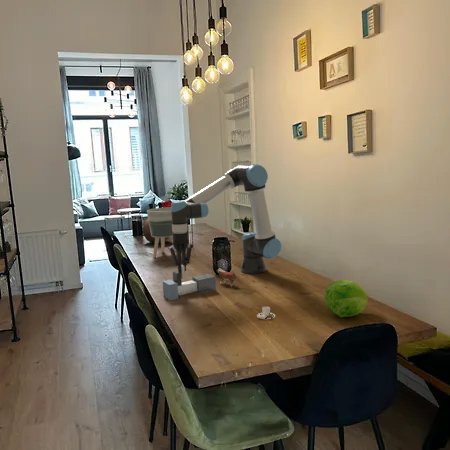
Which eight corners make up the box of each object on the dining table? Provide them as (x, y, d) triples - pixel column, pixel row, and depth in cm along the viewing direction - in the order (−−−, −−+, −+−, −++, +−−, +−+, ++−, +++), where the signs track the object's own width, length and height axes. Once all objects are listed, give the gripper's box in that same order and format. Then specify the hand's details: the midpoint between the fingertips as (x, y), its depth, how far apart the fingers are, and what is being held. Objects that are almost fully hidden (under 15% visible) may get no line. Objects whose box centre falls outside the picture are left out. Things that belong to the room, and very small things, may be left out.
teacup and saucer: (260, 321, 185) (260, 312, 185) (252, 315, 193) (251, 306, 192) (278, 318, 189) (278, 308, 188) (269, 312, 196) (269, 303, 195)
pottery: (144, 241, 372) (142, 211, 368) (172, 239, 375) (170, 210, 371) (142, 246, 350) (140, 215, 346) (171, 244, 352) (169, 213, 348)
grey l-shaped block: (197, 287, 231) (196, 267, 229) (201, 289, 227) (200, 268, 225) (168, 293, 222) (166, 272, 220) (171, 296, 218) (170, 274, 217)
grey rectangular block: (209, 286, 236) (208, 273, 235) (216, 290, 230) (215, 276, 229) (192, 290, 231) (192, 276, 230) (199, 293, 225) (198, 279, 224)
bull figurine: (220, 281, 246) (219, 267, 244) (237, 285, 236) (237, 270, 235) (214, 282, 243) (213, 268, 241) (231, 287, 233) (231, 272, 232)
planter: (185, 255, 314) (183, 209, 308) (158, 260, 302) (154, 212, 296) (171, 250, 331) (168, 206, 326) (145, 255, 319) (141, 209, 314)
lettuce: (376, 321, 185) (383, 287, 182) (338, 326, 177) (344, 290, 174) (350, 305, 200) (356, 274, 197) (314, 309, 192) (319, 276, 188)
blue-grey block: (171, 294, 225) (170, 279, 224) (178, 298, 218) (177, 283, 217) (163, 296, 223) (162, 281, 222) (170, 300, 216) (169, 284, 215)
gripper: (188, 229, 226) (190, 274, 229) (164, 232, 219) (167, 278, 223) (195, 231, 219) (197, 277, 223) (171, 234, 213) (173, 281, 216)
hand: (182, 277), depth 223 cm, fingers closed
